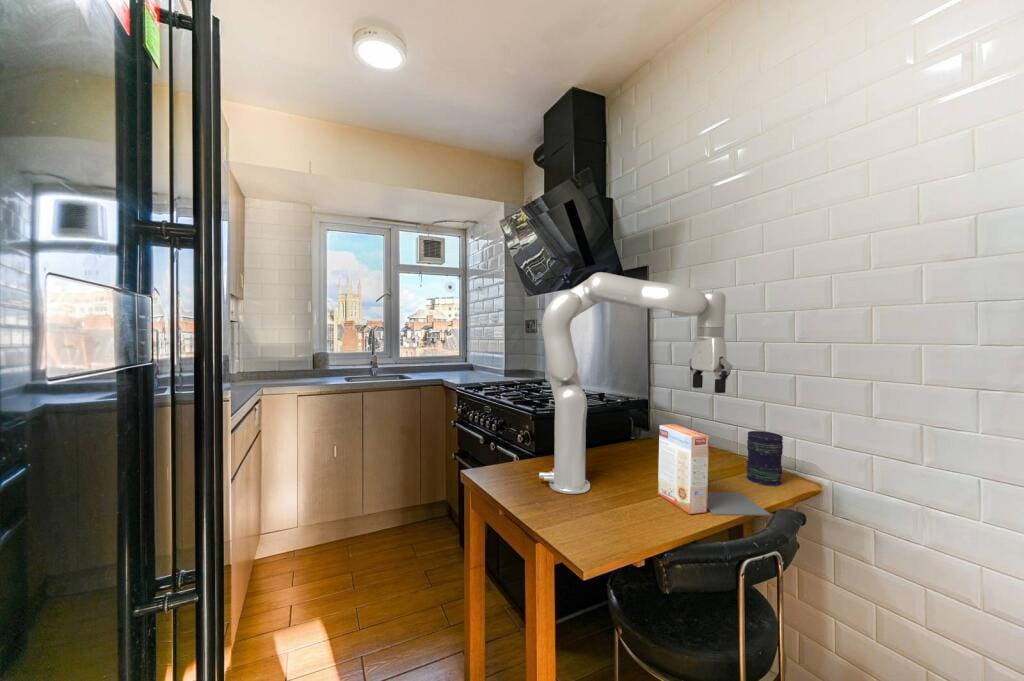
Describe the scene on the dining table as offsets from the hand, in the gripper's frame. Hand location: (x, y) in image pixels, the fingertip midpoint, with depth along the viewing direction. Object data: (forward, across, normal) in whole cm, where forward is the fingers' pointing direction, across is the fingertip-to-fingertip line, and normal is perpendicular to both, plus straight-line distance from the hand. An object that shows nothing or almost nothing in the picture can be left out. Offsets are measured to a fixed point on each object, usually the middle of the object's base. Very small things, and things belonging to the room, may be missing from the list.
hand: (708, 390), depth 121 cm
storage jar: (+31, -3, +24) cm, 39 cm away
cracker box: (+31, +7, -13) cm, 34 cm away
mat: (+31, +10, 0) cm, 32 cm away
